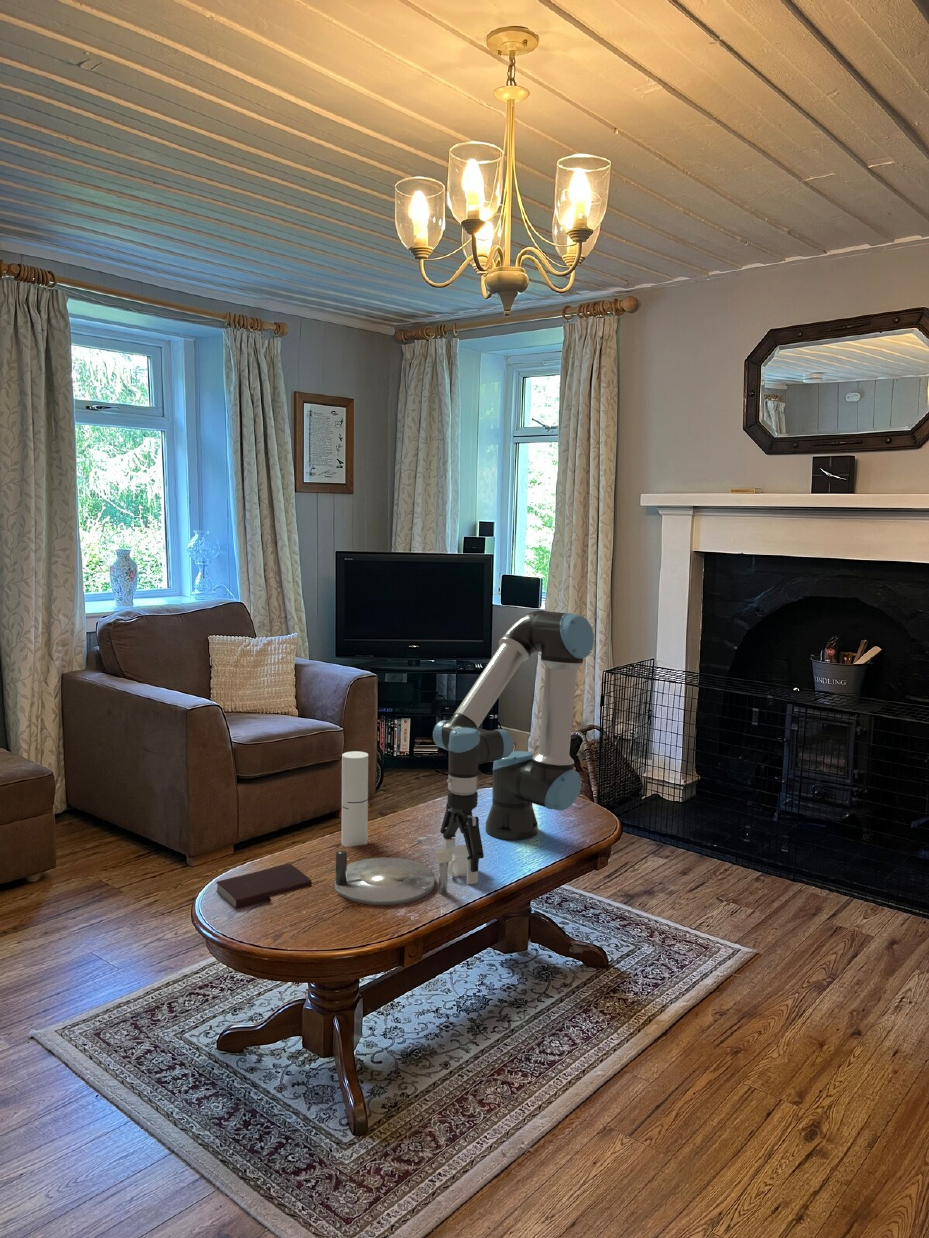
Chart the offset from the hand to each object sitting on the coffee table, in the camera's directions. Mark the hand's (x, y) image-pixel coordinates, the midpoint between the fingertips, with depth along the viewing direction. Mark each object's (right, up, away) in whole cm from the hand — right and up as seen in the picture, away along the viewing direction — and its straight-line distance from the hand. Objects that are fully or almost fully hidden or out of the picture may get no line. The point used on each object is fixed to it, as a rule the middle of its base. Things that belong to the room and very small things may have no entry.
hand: (460, 873), depth 224 cm
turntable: (-18, 0, -8) cm, 20 cm away
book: (-47, -2, -10) cm, 48 cm away
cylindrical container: (-29, +2, +23) cm, 37 cm away
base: (-18, -2, -7) cm, 20 cm away
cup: (0, -1, 0) cm, 1 cm away
